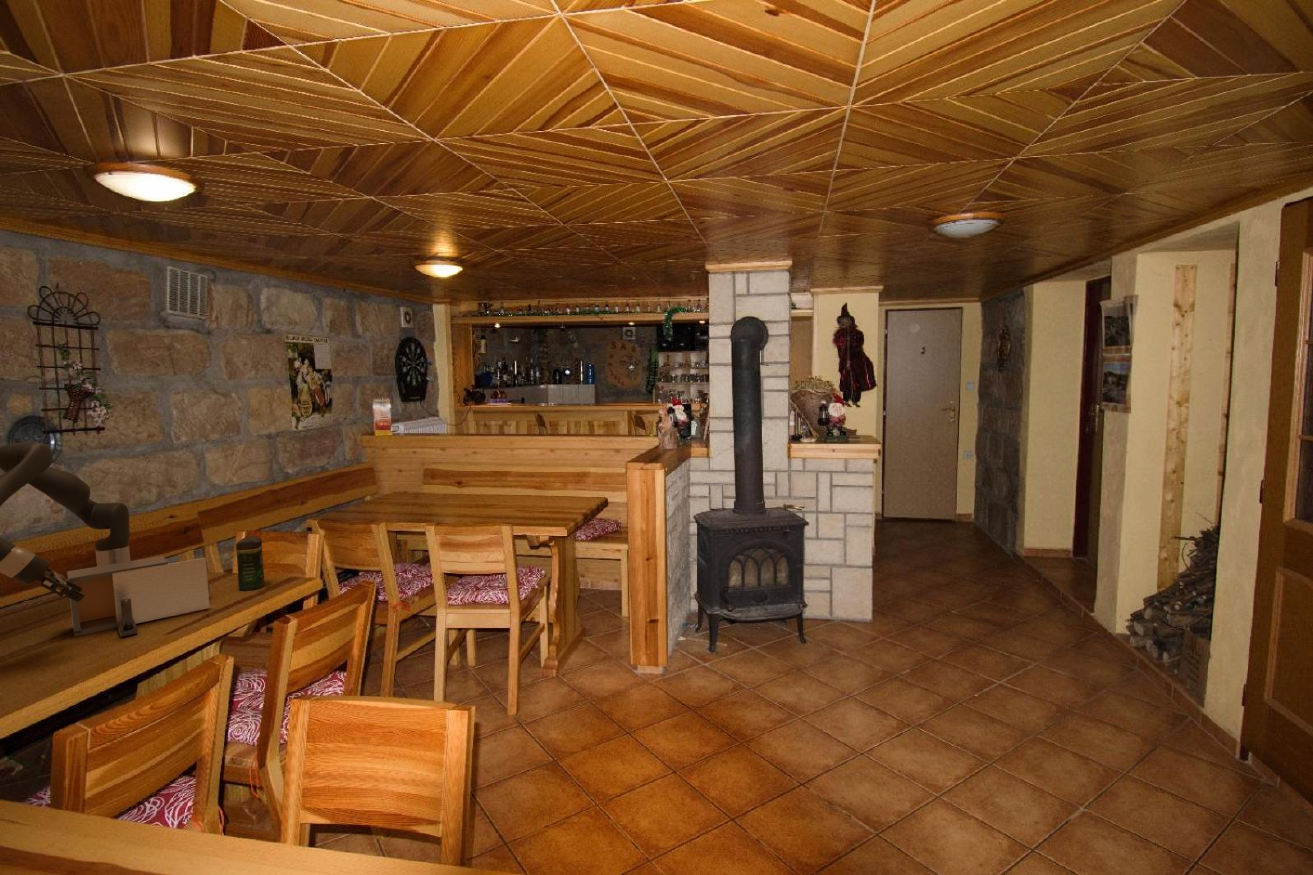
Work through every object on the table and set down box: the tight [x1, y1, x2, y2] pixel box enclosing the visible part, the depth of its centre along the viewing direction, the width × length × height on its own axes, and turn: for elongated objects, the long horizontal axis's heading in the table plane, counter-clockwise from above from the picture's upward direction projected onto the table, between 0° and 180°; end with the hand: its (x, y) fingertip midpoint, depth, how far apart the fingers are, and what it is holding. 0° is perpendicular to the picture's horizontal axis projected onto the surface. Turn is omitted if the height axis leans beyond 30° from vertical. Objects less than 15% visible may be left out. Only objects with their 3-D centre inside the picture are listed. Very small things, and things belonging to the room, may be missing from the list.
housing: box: [66, 555, 169, 637], centre depth 209 cm, size 10×24×18 cm, turn 134°
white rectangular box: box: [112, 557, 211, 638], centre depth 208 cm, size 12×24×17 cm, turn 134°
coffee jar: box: [235, 535, 265, 591], centre depth 242 cm, size 10×8×19 cm
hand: (80, 595), depth 190 cm, fingers open, 8 cm apart
